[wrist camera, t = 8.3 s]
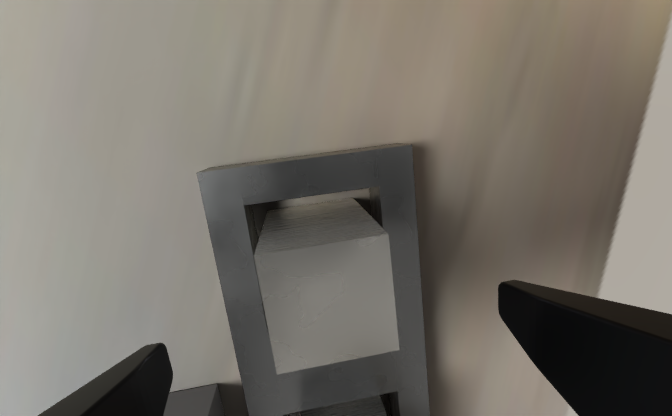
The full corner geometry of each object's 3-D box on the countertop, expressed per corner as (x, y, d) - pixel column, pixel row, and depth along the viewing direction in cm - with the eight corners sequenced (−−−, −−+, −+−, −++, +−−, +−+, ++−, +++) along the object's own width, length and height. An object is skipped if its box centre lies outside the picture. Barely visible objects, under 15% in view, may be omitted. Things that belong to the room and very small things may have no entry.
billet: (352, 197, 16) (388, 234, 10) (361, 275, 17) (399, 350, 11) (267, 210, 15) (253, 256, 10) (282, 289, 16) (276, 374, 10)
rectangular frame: (420, 460, 20) (435, 496, 18) (276, 493, 19) (274, 535, 17) (396, 143, 15) (411, 144, 14) (209, 167, 15) (196, 172, 13)
